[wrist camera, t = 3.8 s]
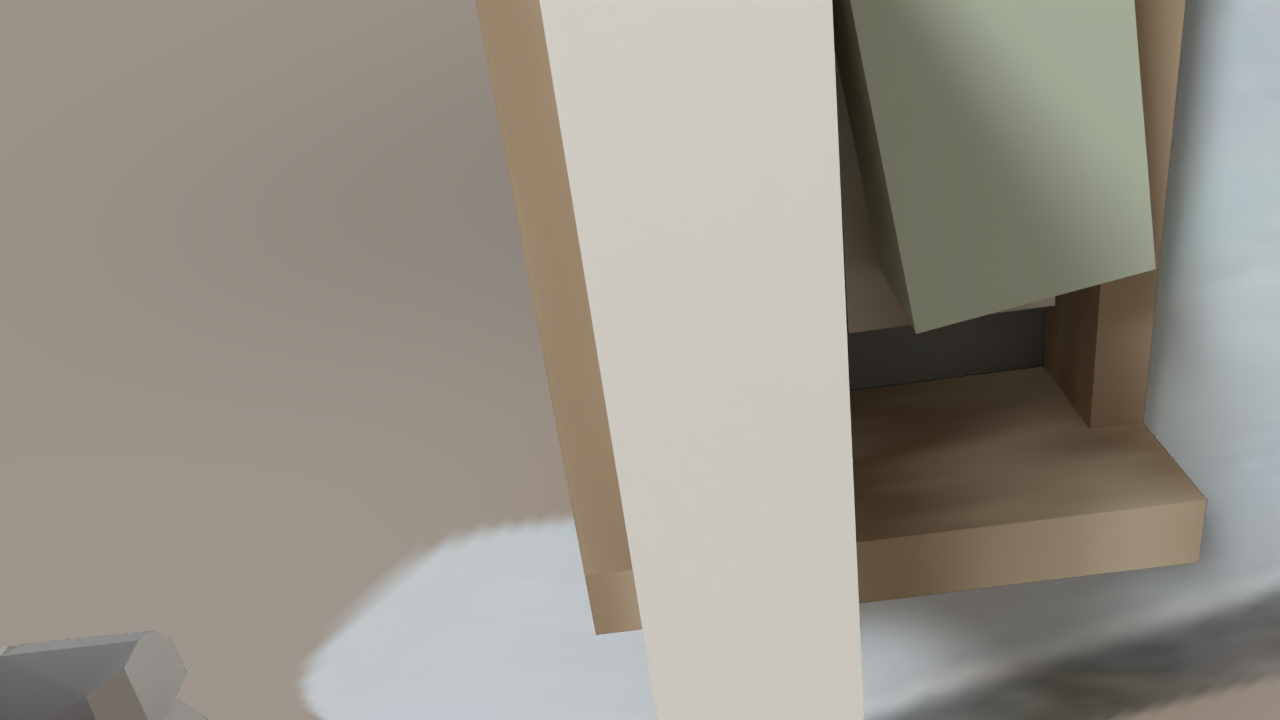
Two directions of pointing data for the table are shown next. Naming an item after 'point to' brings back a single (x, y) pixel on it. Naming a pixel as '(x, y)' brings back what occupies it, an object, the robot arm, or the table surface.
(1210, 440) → the table surface
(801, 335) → the off-white rectangular board
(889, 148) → the offcut top
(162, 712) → the robot arm
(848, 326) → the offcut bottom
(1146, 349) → the rack
